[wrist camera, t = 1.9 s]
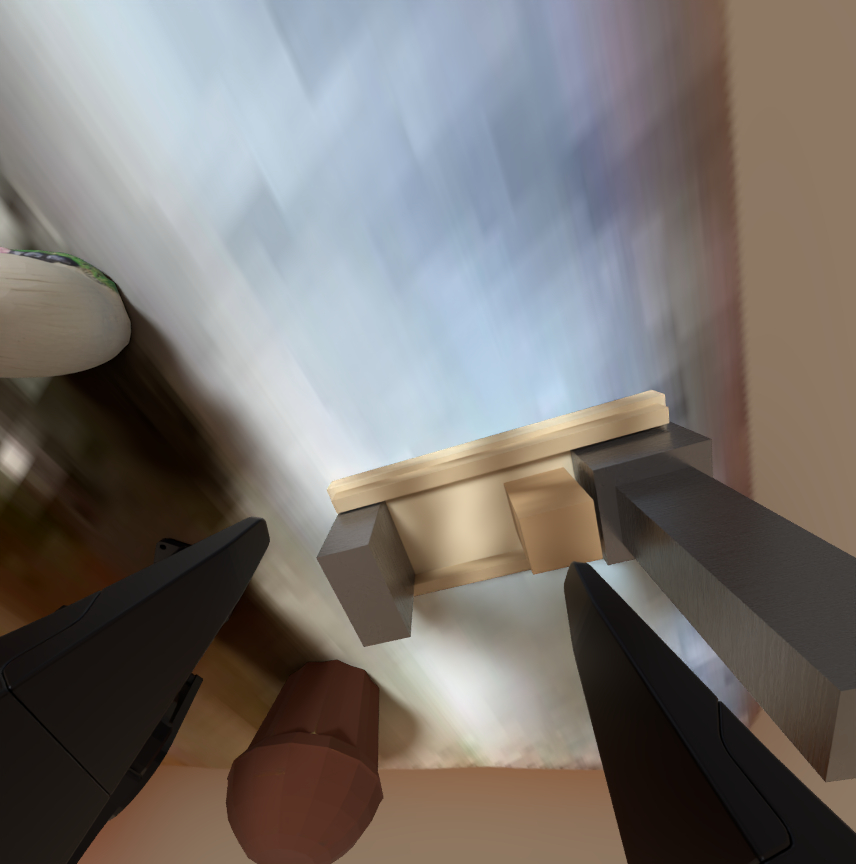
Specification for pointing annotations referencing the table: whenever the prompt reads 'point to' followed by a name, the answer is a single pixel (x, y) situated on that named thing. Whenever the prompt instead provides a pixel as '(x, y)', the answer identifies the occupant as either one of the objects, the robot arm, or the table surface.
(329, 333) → the table surface
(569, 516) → the walnut block
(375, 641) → the block
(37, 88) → the table surface
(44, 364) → the decorative ornament
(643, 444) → the block
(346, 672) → the muffin
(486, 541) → the wooden tray
